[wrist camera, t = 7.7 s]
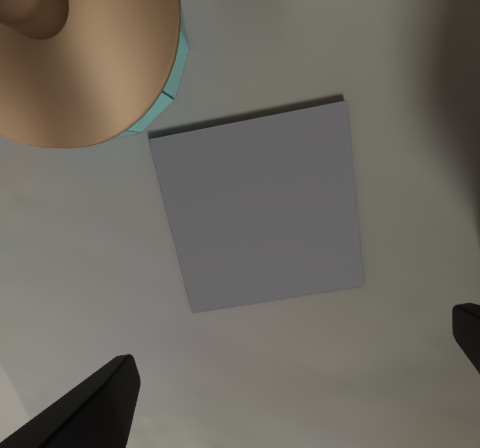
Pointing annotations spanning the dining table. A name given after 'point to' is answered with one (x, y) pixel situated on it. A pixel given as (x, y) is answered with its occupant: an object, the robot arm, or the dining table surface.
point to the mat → (263, 207)
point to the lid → (82, 67)
